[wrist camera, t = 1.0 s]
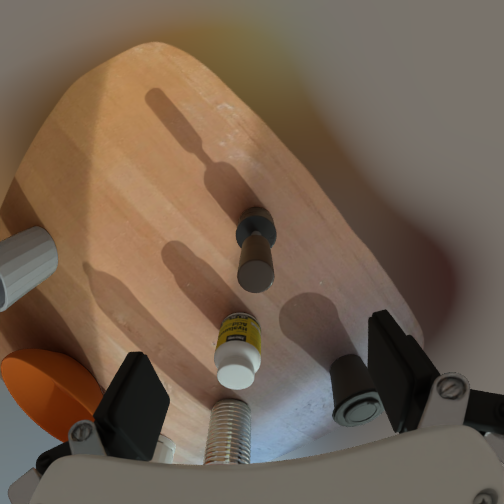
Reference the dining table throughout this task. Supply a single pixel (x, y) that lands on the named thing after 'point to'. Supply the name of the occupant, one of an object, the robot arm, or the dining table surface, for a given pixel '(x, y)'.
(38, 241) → the grey utensil holder
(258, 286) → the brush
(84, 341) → the dining table surface
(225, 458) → the water bottle
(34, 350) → the bowl
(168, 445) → the bottle
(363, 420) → the coffee cup
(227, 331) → the supplement bottle
